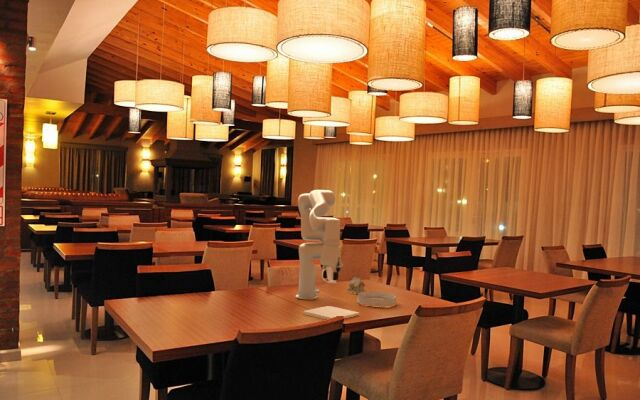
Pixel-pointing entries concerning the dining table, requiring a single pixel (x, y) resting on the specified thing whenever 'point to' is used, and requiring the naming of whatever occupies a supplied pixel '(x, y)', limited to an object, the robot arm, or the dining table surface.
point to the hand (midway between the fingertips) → (330, 278)
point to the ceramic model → (356, 285)
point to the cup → (329, 274)
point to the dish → (376, 299)
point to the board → (330, 312)
